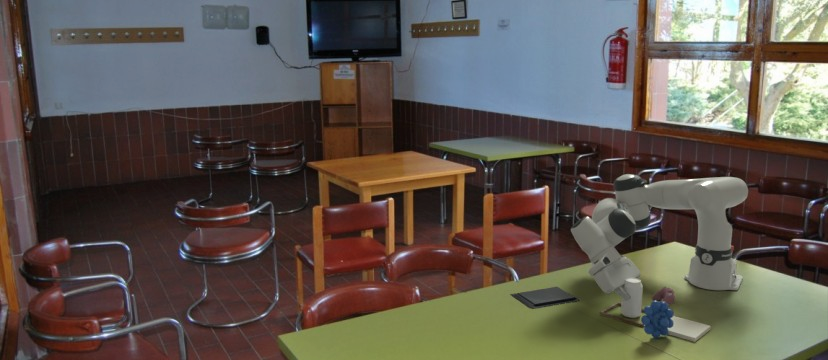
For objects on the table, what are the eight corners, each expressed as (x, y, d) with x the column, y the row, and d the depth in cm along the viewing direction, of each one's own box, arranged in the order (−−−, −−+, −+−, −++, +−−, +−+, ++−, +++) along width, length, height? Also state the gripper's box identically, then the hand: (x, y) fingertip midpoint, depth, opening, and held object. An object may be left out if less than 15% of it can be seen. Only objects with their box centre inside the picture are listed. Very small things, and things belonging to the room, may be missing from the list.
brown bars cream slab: (617, 303, 232) (617, 300, 232) (710, 329, 212) (710, 325, 212) (599, 314, 224) (599, 311, 223) (694, 342, 203) (695, 338, 203)
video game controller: (667, 314, 227) (679, 297, 225) (655, 308, 228) (666, 290, 226) (663, 303, 237) (674, 287, 235) (651, 297, 237) (661, 280, 235)
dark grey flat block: (530, 305, 228) (508, 290, 242) (530, 311, 228) (508, 295, 242) (582, 297, 235) (558, 283, 249) (582, 303, 235) (558, 288, 249)
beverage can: (616, 313, 224) (618, 278, 222) (631, 310, 227) (634, 275, 224) (629, 320, 219) (631, 284, 216) (645, 317, 221) (647, 281, 219)
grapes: (650, 347, 200) (653, 307, 197) (635, 337, 206) (637, 299, 204) (682, 340, 204) (685, 302, 202) (666, 331, 210) (668, 294, 208)
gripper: (615, 258, 235) (641, 292, 230) (585, 273, 220) (612, 310, 216) (628, 248, 231) (655, 283, 227) (598, 262, 216) (626, 300, 212)
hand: (633, 296), depth 221 cm, fingers closed on beverage can, 6 cm apart
